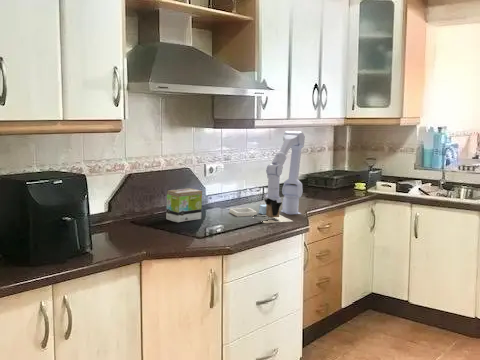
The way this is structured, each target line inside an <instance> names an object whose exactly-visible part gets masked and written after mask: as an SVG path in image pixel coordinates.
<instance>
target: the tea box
mask: <svg viewBox="0 0 480 360" xmlns="http://www.w3.org/2000/svg"><path fill="white" fill-rule="evenodd" d="M202 203H203V190H199V189H195V188H190V187H189V188H181V189H171V190H167V193H166V211H165V212H166V215H165V217H166V220H168V221H171V222H175V223H182V222H188V221H195V220H196V221H197V220H201V219H202Z"/></svg>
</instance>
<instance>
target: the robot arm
mask: <svg viewBox="0 0 480 360" xmlns="http://www.w3.org/2000/svg"><path fill="white" fill-rule="evenodd" d="M282 140H283V143H282V145H281V148H280V150H279V152H277V153H276V154H275V156H274V158H273V159H272V161H271V163H270V164H267V166H266V169H265V172H266V177H267V193H265V196H264V197H265V198H266V199H264V202H265V204H271V205H272V213H273V216H276V215H277V214H278V211H279V212H282V213H285V215H286V214H287V215H302V213H301V212H299V203H300V198H301V197H302V195H303V192H304V191H303V189H304V187H303V183H302V182H301V181H300V180H299V175H300V173H299V172H300V164H301V158H302V157H301V156H302V149H303V148H304V146H305V134H304V132H303V131H289V130H286V131H285V132H284V134H283V137H282ZM290 150H291V154H290V162H289V163H290V165H289V170H288V171H289V173H288V179H286V180H285V181H284V182H283V186H282V188H281V193H282V195H283V198H281V197H280V179H281V178H280V177H281V175H282V174H283V170H284V169H283V168H284V164H285V162H286V160H287V156H286V155H287V154H288V152H289V151H290ZM280 207H282V209H281V210H280Z"/></svg>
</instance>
